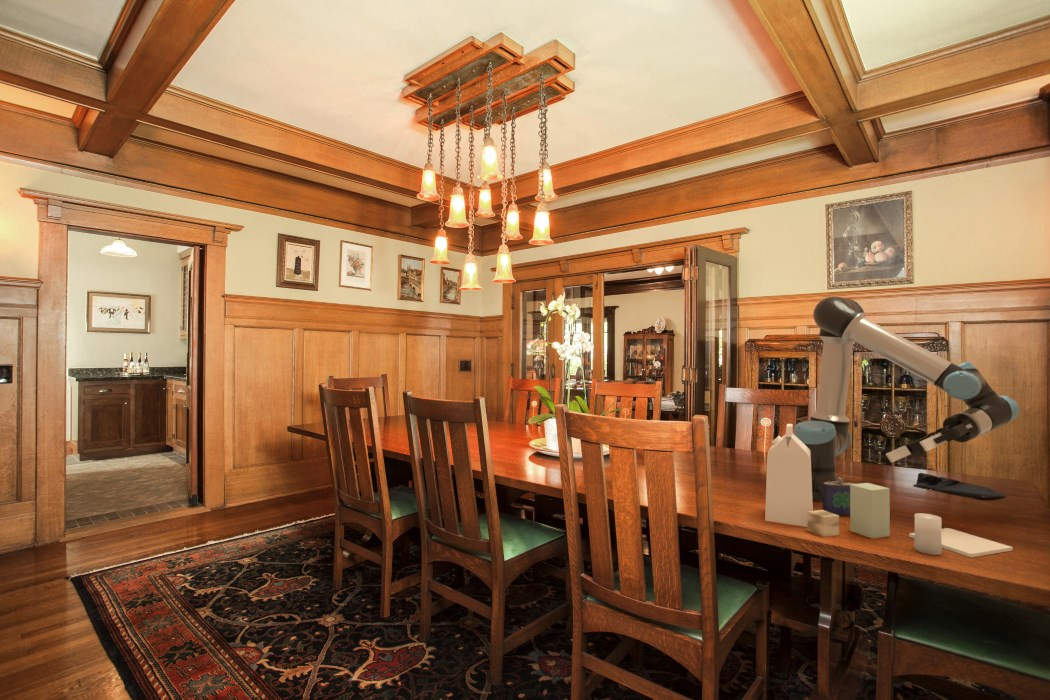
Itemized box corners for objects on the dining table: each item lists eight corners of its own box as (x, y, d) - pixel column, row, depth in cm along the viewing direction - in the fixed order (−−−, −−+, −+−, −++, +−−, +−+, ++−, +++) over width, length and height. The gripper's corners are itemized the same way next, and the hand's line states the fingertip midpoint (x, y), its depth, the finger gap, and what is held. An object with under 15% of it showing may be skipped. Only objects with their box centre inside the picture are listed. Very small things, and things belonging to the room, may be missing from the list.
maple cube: (807, 530, 136) (807, 511, 136) (822, 528, 138) (822, 509, 138) (823, 537, 132) (823, 517, 132) (839, 535, 133) (839, 515, 133)
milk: (812, 527, 138) (812, 429, 139) (765, 520, 144) (765, 426, 144) (813, 515, 149) (813, 423, 149) (768, 509, 155) (768, 421, 155)
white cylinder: (909, 548, 124) (909, 514, 124) (924, 545, 126) (924, 512, 126) (931, 555, 119) (931, 520, 119) (946, 553, 121) (946, 518, 121)
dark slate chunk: (983, 503, 162) (983, 488, 162) (908, 486, 183) (908, 473, 183) (1011, 498, 168) (1011, 483, 168) (935, 482, 189) (935, 469, 189)
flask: (853, 513, 151) (853, 476, 151) (859, 516, 148) (859, 478, 148) (820, 513, 151) (820, 476, 151) (826, 516, 148) (826, 478, 148)
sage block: (850, 530, 136) (850, 484, 136) (867, 528, 138) (867, 482, 138) (871, 538, 131) (871, 490, 131) (889, 535, 132) (889, 488, 132)
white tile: (909, 536, 132) (909, 533, 132) (948, 530, 136) (948, 527, 136) (971, 557, 118) (971, 554, 118) (1012, 550, 123) (1012, 547, 123)
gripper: (1014, 425, 135) (949, 454, 131) (941, 448, 157) (884, 474, 154) (994, 399, 138) (930, 427, 134) (925, 425, 160) (868, 450, 156)
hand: (905, 452), depth 144 cm, fingers open, 13 cm apart
